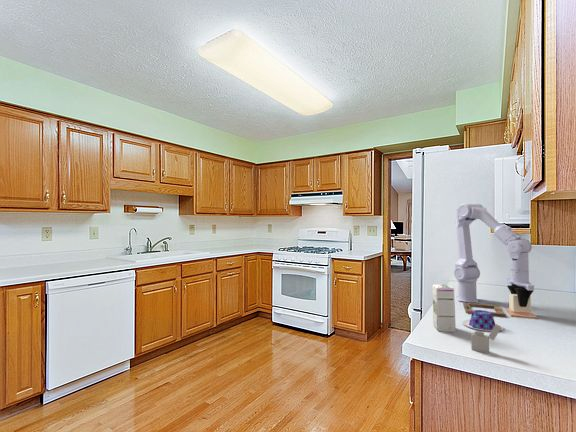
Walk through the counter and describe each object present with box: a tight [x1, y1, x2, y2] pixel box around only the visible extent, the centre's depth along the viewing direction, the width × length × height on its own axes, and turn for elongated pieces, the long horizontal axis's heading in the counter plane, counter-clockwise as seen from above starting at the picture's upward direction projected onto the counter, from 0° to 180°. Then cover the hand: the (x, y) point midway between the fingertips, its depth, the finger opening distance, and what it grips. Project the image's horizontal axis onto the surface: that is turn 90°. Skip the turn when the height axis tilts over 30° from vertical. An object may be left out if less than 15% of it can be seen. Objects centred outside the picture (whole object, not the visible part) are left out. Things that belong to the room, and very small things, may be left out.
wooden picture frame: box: [462, 302, 507, 318], centre depth 127 cm, size 14×13×2 cm
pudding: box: [462, 309, 504, 332], centre depth 109 cm, size 12×12×5 cm
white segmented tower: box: [432, 283, 457, 333], centre depth 106 cm, size 6×6×14 cm
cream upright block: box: [508, 293, 532, 312], centre depth 122 cm, size 3×6×6 cm, turn 81°
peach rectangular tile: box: [504, 307, 538, 320], centre depth 122 cm, size 10×8×1 cm
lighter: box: [470, 323, 502, 354], centre depth 88 cm, size 7×2×8 cm, turn 55°
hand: (520, 305), depth 122 cm, fingers closed on cream upright block, 3 cm apart
